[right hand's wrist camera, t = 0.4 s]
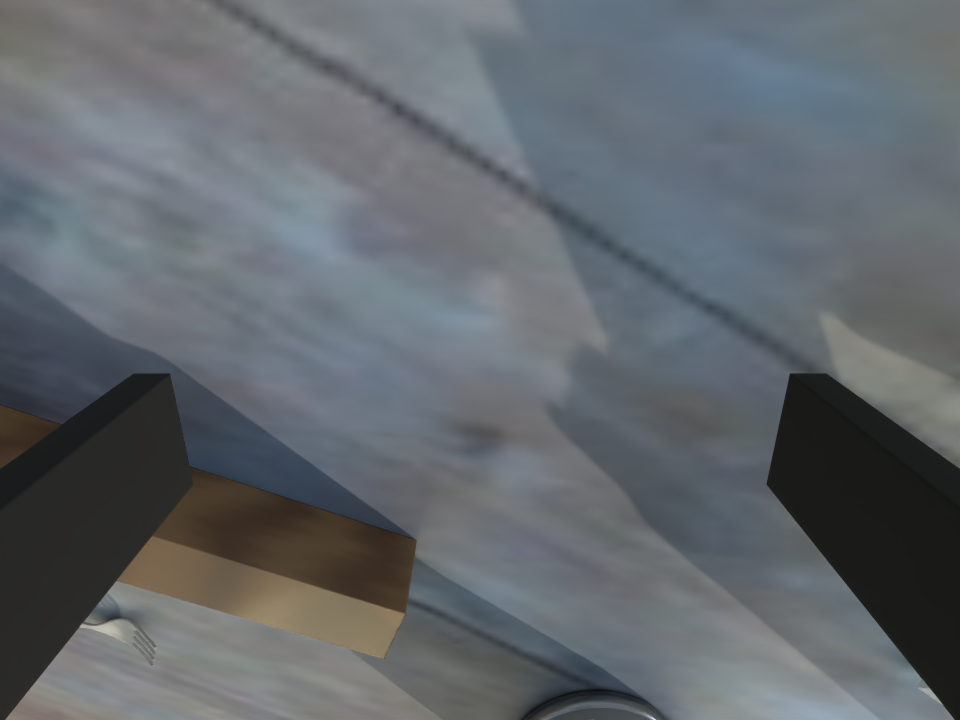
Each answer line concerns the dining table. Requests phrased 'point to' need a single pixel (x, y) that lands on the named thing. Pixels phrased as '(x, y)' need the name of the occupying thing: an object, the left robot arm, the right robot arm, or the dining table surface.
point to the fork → (125, 634)
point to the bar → (264, 557)
